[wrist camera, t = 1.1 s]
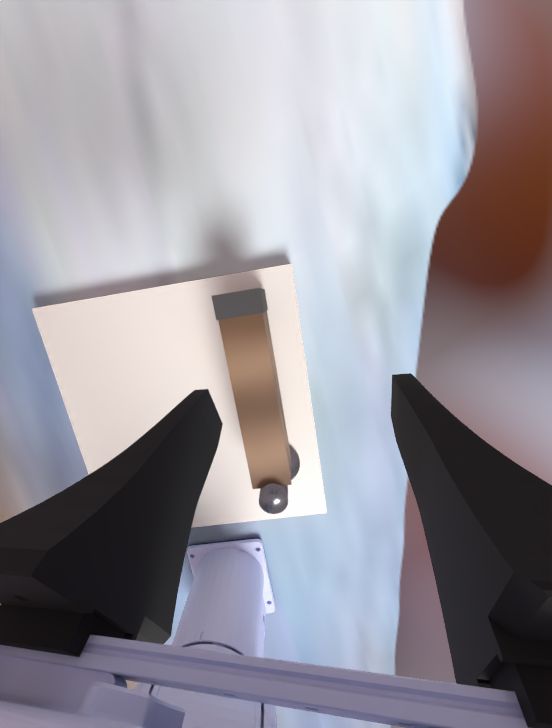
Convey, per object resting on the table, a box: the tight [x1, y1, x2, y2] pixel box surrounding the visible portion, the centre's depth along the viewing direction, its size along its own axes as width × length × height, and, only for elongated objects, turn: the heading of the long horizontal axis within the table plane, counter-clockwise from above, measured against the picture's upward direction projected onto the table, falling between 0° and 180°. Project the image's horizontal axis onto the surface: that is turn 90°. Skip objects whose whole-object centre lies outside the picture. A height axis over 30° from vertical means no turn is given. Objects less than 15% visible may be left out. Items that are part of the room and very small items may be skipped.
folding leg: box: [212, 288, 292, 514], centre depth 22 cm, size 16×3×5 cm, turn 9°
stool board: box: [32, 264, 327, 528], centre depth 25 cm, size 23×22×5 cm
